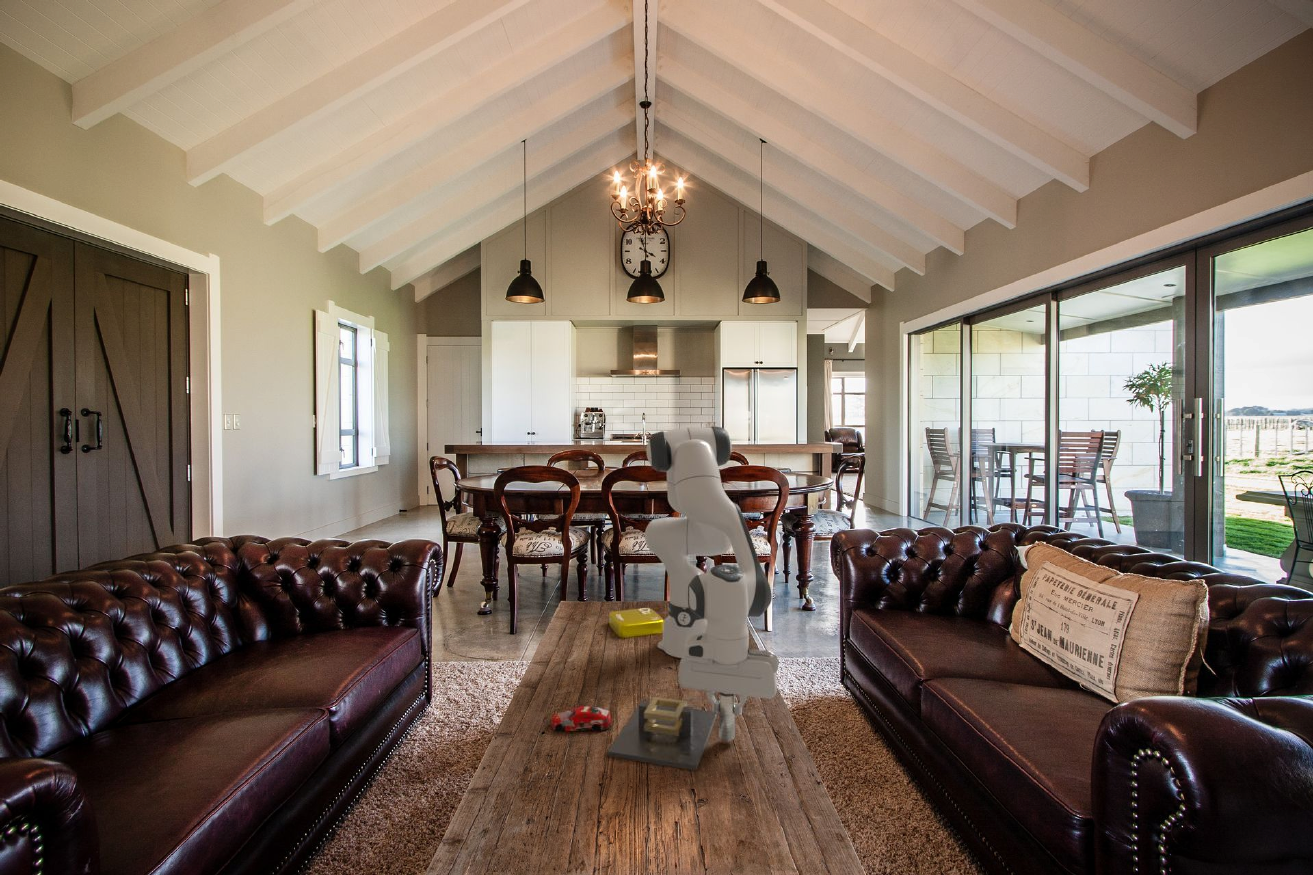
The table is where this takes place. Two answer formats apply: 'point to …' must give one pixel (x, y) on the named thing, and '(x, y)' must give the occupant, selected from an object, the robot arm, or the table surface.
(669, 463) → the robot arm
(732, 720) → the metal tube
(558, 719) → the race car
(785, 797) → the table surface
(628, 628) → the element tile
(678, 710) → the collar stand
